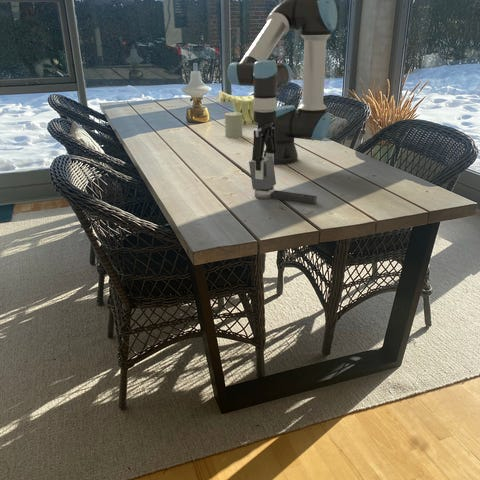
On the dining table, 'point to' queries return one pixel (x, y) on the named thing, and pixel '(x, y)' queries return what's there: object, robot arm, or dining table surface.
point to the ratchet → (285, 196)
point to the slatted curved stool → (240, 106)
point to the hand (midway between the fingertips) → (264, 174)
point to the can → (233, 124)
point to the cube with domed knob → (267, 174)
